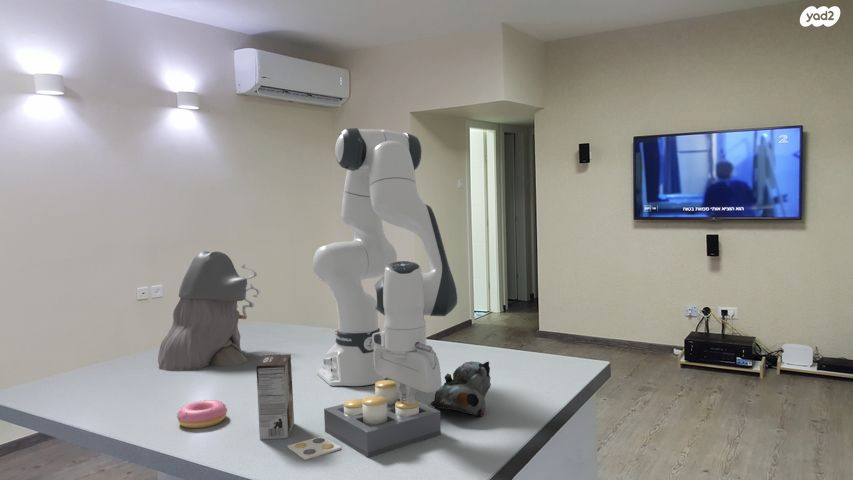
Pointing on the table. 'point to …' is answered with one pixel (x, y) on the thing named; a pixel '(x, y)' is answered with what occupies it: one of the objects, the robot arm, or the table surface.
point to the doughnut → (202, 414)
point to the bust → (207, 316)
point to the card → (314, 447)
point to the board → (382, 429)
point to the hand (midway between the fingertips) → (407, 403)
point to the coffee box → (275, 396)
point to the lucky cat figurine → (465, 389)
